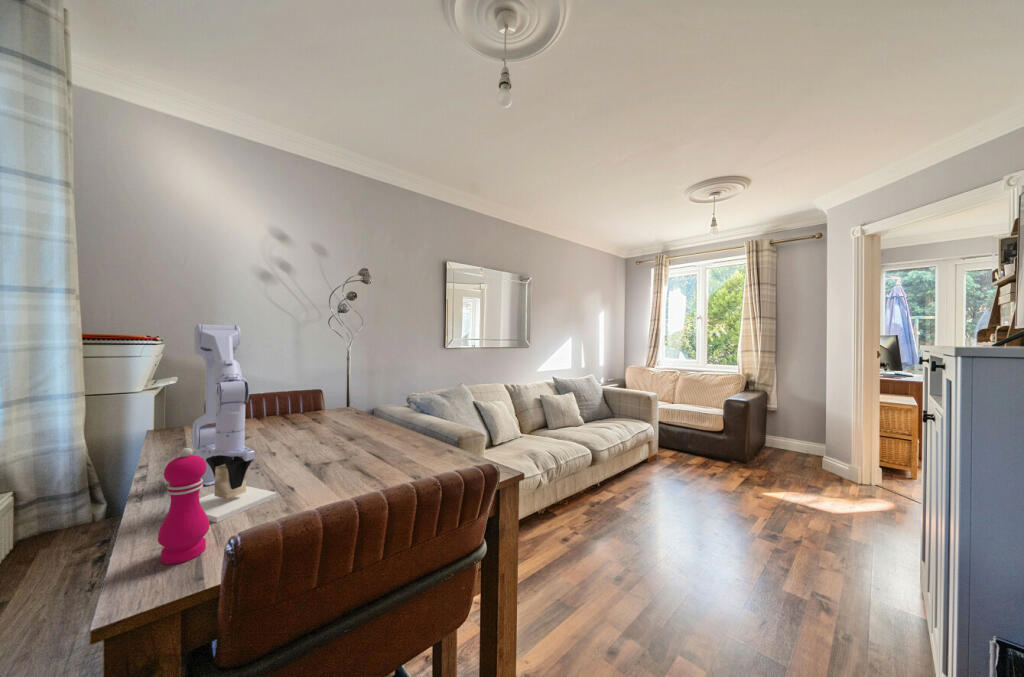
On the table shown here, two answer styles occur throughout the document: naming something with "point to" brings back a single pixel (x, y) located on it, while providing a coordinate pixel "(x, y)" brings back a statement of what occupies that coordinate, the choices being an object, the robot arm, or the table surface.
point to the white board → (234, 503)
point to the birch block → (226, 484)
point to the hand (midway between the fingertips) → (229, 486)
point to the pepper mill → (184, 510)
